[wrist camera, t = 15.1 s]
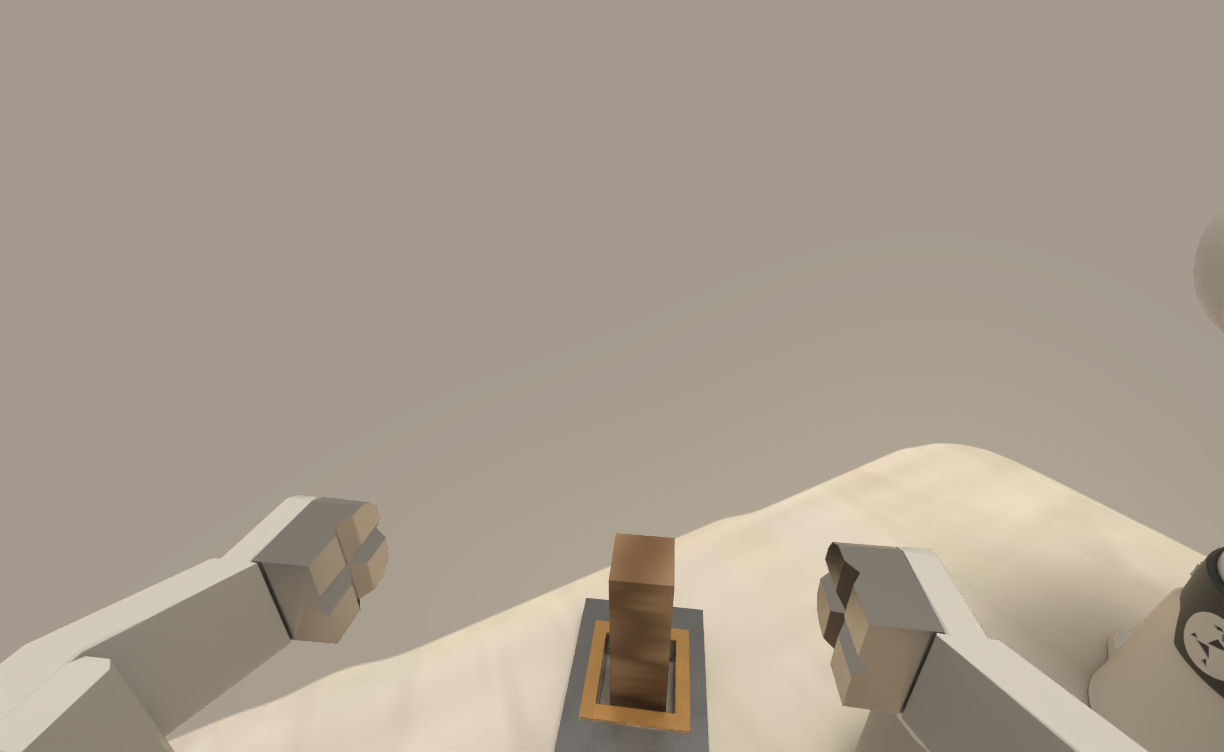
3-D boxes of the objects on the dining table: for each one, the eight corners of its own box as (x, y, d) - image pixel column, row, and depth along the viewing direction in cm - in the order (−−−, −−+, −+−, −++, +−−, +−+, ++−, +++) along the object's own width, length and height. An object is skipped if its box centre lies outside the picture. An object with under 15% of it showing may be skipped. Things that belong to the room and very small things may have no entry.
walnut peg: (665, 669, 40) (674, 538, 34) (664, 722, 36) (674, 586, 30) (616, 664, 40) (615, 533, 34) (610, 715, 37) (608, 580, 30)
